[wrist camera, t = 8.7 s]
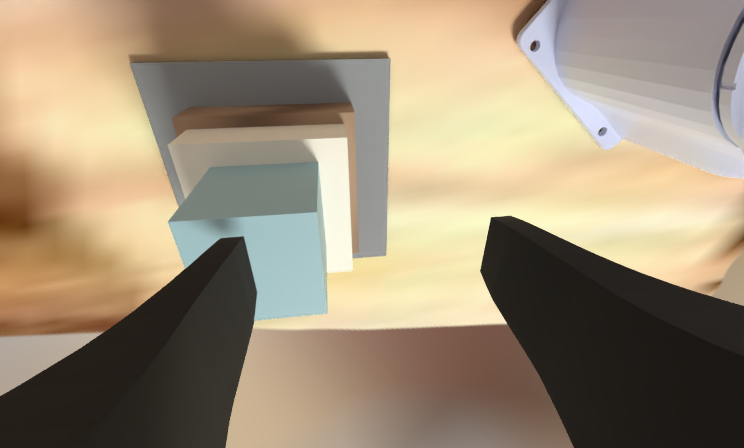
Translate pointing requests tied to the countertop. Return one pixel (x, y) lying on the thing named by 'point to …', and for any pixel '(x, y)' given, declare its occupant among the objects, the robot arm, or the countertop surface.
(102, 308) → the countertop surface
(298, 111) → the walnut slab
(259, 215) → the teal cube
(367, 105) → the slate mat
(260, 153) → the cream slab
